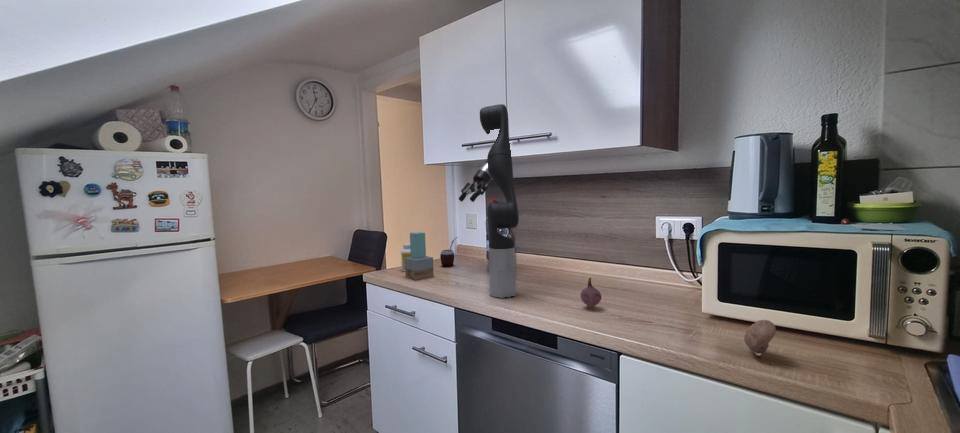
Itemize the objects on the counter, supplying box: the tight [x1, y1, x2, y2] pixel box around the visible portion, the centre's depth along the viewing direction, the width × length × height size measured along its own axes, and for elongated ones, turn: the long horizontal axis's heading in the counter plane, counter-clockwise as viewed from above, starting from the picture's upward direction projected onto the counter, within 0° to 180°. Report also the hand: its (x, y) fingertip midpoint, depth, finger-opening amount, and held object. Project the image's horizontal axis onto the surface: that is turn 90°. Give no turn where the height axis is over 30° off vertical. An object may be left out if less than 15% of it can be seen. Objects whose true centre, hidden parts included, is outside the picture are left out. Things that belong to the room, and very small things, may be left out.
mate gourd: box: [439, 236, 458, 268], centre depth 181 cm, size 8×8×15 cm
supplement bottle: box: [400, 242, 411, 273], centre depth 174 cm, size 7×7×13 cm
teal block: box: [409, 231, 427, 259], centre depth 159 cm, size 5×5×11 cm
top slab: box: [404, 255, 434, 271], centre depth 160 cm, size 9×9×4 cm
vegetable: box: [580, 276, 602, 308], centre depth 114 cm, size 6×6×10 cm
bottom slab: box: [404, 267, 434, 282], centre depth 160 cm, size 9×9×4 cm
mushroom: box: [743, 319, 777, 354], centre depth 80 cm, size 8×6×8 cm
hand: (465, 200), depth 162 cm, fingers open, 8 cm apart
